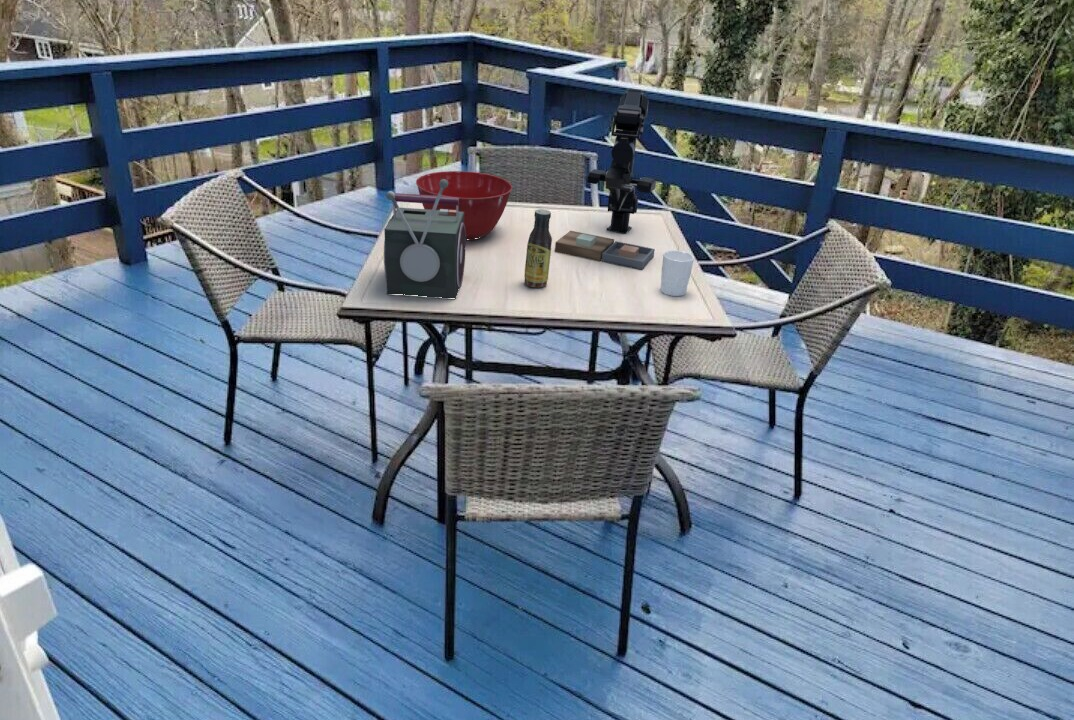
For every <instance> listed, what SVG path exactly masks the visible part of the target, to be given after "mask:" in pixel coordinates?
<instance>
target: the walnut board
mask: <svg viewBox="0 0 1074 720" xmlns="http://www.w3.org/2000/svg"><path fill="white" fill-rule="evenodd" d="M581 234H586V235H591V236H596V242H595V244H594V245H593V246H591V247H585V246H580V245H576V238H577V237H578V236H579V235H581ZM614 242H615V239H614V238H611V237H610V238H609V237H605V236H600V235H594V234H590V233H585V232H580V231H574V230H569V231H568V232H566V233H565V234H564V235H563V236H561V237H560V238H559V239H558V240H557V241H555V246H554V252H555V253H557V254H558V253H559V254H563V255H568V256H572V257H576V258H577V257H578V258H582V259H586V260H587V259H588V260H592V261H596V262H602V254H603V253H604V252H605V251H606V250H607V249H608V248H609V247H610V246H611V245H612V244H613V243H614Z"/></svg>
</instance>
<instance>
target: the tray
mask: <svg viewBox="0 0 1074 720" xmlns="http://www.w3.org/2000/svg"><path fill="white" fill-rule="evenodd" d="M624 245H628V246H633V247H638V248H639V253H638V255H637V256H636V257H635V258H634V259H632V258H627V257H622V256H619V250H620V248H622V247H623V246H624ZM655 251H656V250H655V248H651V247H647V246H642V245H636V244H632V243H627V242H621V241H617V240H616V241H615V240H614V243H613V244H612V245H611V246H610V247H609V248H608V249H607V250H606V251H605V252H604V253H603V254H602V260H601V262H602V263H606V264H611V265H615V266H620V267H625V268H629V269H635V270H639V271H643V270H644V269H645V267H646V266H648V264H649V263H650V261H652V260H653V259H654V257H655Z"/></svg>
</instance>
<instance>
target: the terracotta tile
mask: <svg viewBox="0 0 1074 720" xmlns="http://www.w3.org/2000/svg"><path fill="white" fill-rule="evenodd" d="M638 253H639V248H638V247H633V246H628V245H624V246H623V247H622V248H620V250H619V256H622V257H627V258H632V259H634V258H635V257H636V256H637V255H638Z"/></svg>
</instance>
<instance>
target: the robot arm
mask: <svg viewBox="0 0 1074 720" xmlns="http://www.w3.org/2000/svg"><path fill="white" fill-rule="evenodd" d="M649 101H650V99H648V98H647V96H645V95H644V90H642V89H635V88H628V89H626V90H625V94H623V95H622V96H620V101H619V105H618V107H617V109H616V110H617V111H614V114H613V122H612V126H611V127H612V128H611V134H610V135H611V137H615V139H614V144H613V146H612V148H611V151H610V152H611V159H612V160H611V163H610V164H611V165H610V168H609V169H608V170H607V171H606V170H602V169H596V168H594V169H592V170H591V171H590V172H588V173H587V174H586V179H585V180H586V183H588V184H593V185H597V184H598V183H599V182H605V189H607V190H608V191H609V194H608V202H607V212H611V218H610V225H609V226H608V227H607V228H606V231H611V232H616V233H620V234H627V233H628V232H630V230H631V229H632V228H633V227H632V226H629V225H630V224H629V223H630V217H631V214H632V215H634V214H636V213H637V212H638V205H639V199H638V197H637V194H635V192H636V189H637V191H638V192H639V193H647V194H651V193H652V192H653V191H654V190H656V184H657V182H656V180H655V178H651V177H646V176H641V178H639V179H636V178H633V177H634V173H633V169H634V163H635V155H636V147H637V146H636V145H637V139H640V138H641V136H642V135H643V132H644V126H645V120H646V119H645V118H647V117H648V111H649V110H648V109H649Z"/></svg>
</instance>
